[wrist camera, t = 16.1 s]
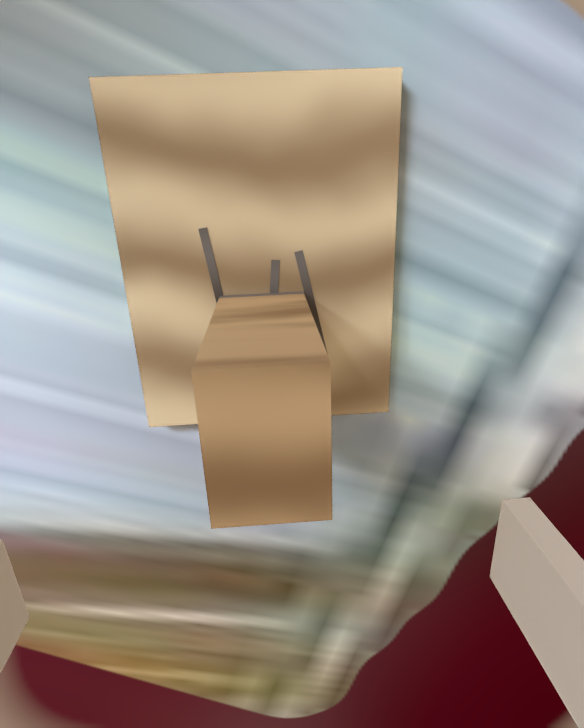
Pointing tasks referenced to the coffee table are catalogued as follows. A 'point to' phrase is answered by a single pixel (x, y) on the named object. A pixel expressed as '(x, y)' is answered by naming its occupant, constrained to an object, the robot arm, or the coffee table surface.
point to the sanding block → (264, 412)
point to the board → (255, 214)
